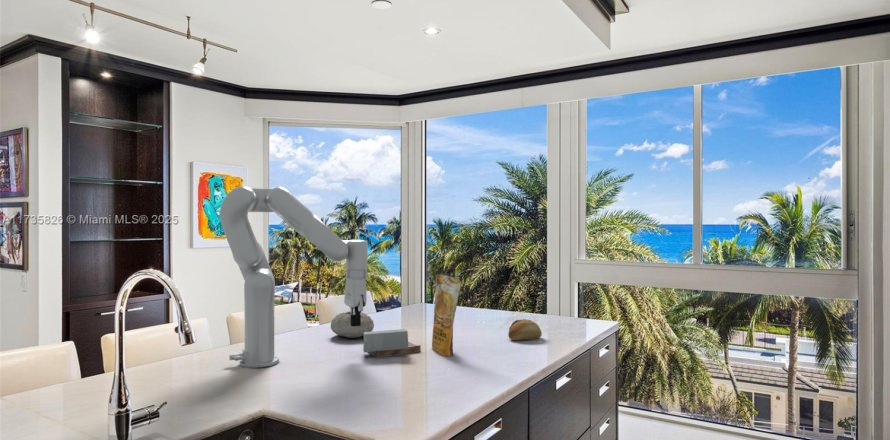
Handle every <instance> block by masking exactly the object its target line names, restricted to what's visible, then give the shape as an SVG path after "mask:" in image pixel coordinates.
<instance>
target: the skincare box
mask: <svg viewBox="0 0 890 440" xmlns="http://www.w3.org/2000/svg"><path fill="white" fill-rule="evenodd" d="M408 335H409V333H408V330H407V329H406V328H402V329H401V328H400V329H399V328H398V329H386V330H375V331H373V330H372V332H364V336H363V349H362V351H363V353H369V352H374V351H386V350H398V349H408V342H409V336H408Z"/></svg>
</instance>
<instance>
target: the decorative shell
mask: <svg viewBox="0 0 890 440" xmlns="http://www.w3.org/2000/svg"><path fill="white" fill-rule="evenodd" d="M351 315H352V314H350V311H345V312H341V313H338V314H337V315H336V316H335V317H333V319H331V322H330V330H331V331H332V332H333V333H334V334H335V335H337V336H339V337H344V338H349V339H355V338H360V337H364V332H372V331H373V330H374V328H375V325H374V324H375V323H374V320H373V319H372V318H371V316H369V315H367V314H366V313H364V312H361V325H360V326H351Z"/></svg>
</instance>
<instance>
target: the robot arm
mask: <svg viewBox="0 0 890 440" xmlns="http://www.w3.org/2000/svg"><path fill="white" fill-rule="evenodd" d="M248 213H275V214H276V215H277V216H278V217H279V218H280V219H282V221H284V222H285V223H286V224H288V226H290V227H291V229H293V230H294V231H295V232H296V233H298V234H299V235H300V236H302V237H304V238H305V239H306V240H308V241H309V242H310V243H311V244H313V245H314V246H315V247H316V248H317V249H319V250H320V251H321V253H323V254H324V255H325V257H326V258H327V259H329V260H330V261H334V262H336V263H337V262H341V261H345V286H344V298H343V301H344V302H343V303H344V304H345V305H346V306H348V307H349V312H350V314H352V315H351V326H360V325H361V313H362V312H363V311H364V307H366V305H367V281H366V280H367V279H368V252H369V250H368V248H369V247H368V245H369V244H368V241H367V240H365V239H364V240H363V239H362V240H361V239H350V240H343V239H342V238H341V237H340V236H339V235H337V234H336V232H334V230H332V229H331V228H330V227H328V225H326V224H325V223H324V222H323V221H322V220H321V219H320V218H319V217H318V216H317V215H316V214H315V213H314V212H313V211H311V210H310V209H309V208H308V207H307V206H306V205H304V204H303V203H302V201H300V200H299V199H298V198H297V197H296V196H295V195H294V194H293V193H292V192H290V191H289V190H288V189H287V188H284V187H282V186H277V187H273V188H257V187H256V188H255V187H254V188H253V187H248V186H244V185H240V186H239V185H238V186H236V187H235V188H233V189H231V190H230V191H229V192H228V194H227V195H225V197H224V199H223V201H222V202H221V205H220V210H219V219H220V223H221V224H220V225H221V226H222V230H223V232H224V235H225V238H226V241H227V242H228V246H229V248H230V251H231V253H232V254H231V255H232V257H233V260H234V262H235V263H236V264H237V266H238V268H239V271H240V273H241V274H242V275H241V276H242V278H243V280H244V285H243V286H244V288H243V292H244V293H243V296H244V297H243V298H244V349H242V350H241V352H239V353H232V354H229V355H228V359H229V361H235V362H236V361H239V362H238V363H239V366H240V367H243V368H248V369H249V368H250V369H252V368H253V369H256V368H258V369H260V368H267V367H271V366H274V365H277V364H278V363H279V362H280V357H278V356H276V355H275V298H276V297H275V296H276V295H275V293H276V292H275V291H276V281H275V276H274V273H273V272H272V269H271V266H270V265H269V262H268V259H267V256H266V255H265V252H264V250H263V247H262V246H261V244H260V242H258V240H257V238H256V235H255V234H254V231H253V229H252V228H253V227H252V225H251V223H250V221H249V215H248Z"/></svg>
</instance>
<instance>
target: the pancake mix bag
mask: <svg viewBox="0 0 890 440" xmlns="http://www.w3.org/2000/svg"><path fill="white" fill-rule="evenodd" d="M434 276H435V293H434V307H433V308H434V309H433V314H434V315H433V324H432V325H433V327H432V338H431V339H432V340H431V349H432V350H433V351H434V352H435V353H438V354H439V355H440V356H443V357H449V358H450V357H453V356H454V349H453V347H454V342H453V339H454V323H455V316H456V312H457V311H456V310H457V305H458V300H459V296H460V293H461V289H462V280H461V279H460V278H458V277H453V276H450V275H447V274H440V273H437V274H435V275H434Z"/></svg>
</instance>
